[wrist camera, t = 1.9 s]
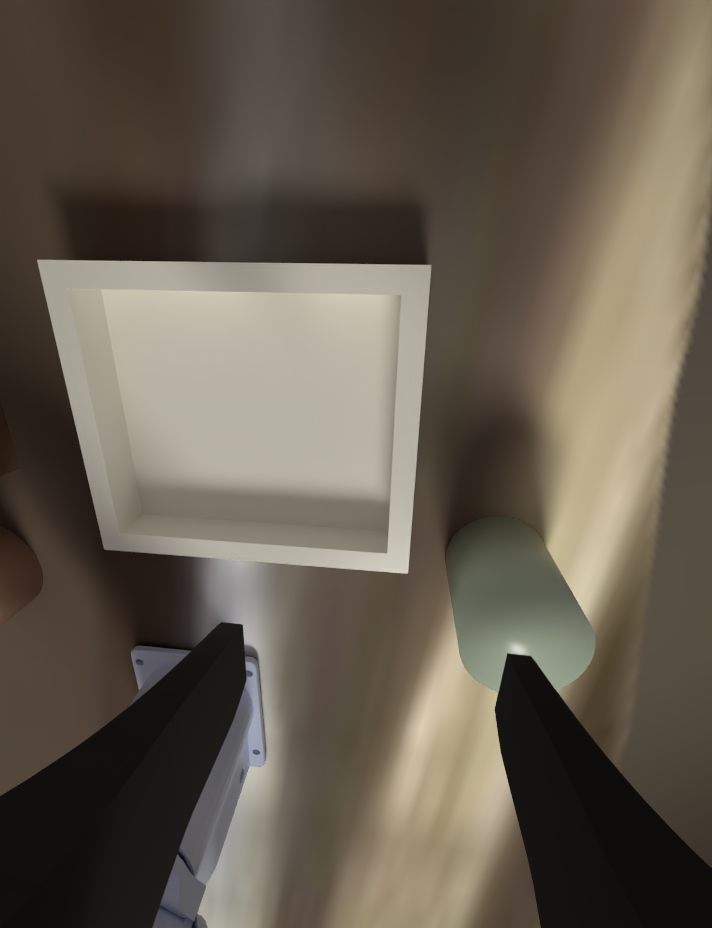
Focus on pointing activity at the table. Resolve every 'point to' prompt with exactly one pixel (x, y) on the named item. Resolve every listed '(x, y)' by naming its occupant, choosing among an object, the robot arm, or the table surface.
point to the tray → (246, 405)
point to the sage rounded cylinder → (514, 603)
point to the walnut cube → (6, 448)
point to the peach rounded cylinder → (17, 574)
